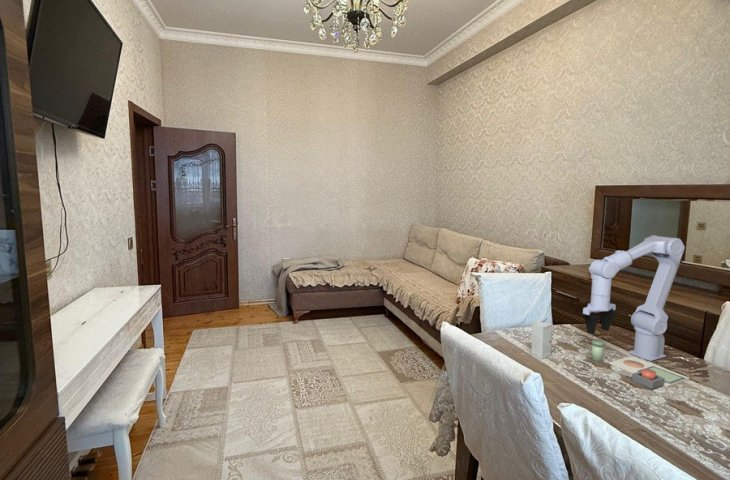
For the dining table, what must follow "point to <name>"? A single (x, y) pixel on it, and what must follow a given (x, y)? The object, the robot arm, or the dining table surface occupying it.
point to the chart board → (637, 365)
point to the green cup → (597, 350)
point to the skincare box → (541, 339)
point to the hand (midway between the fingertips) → (597, 331)
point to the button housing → (648, 381)
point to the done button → (648, 374)
